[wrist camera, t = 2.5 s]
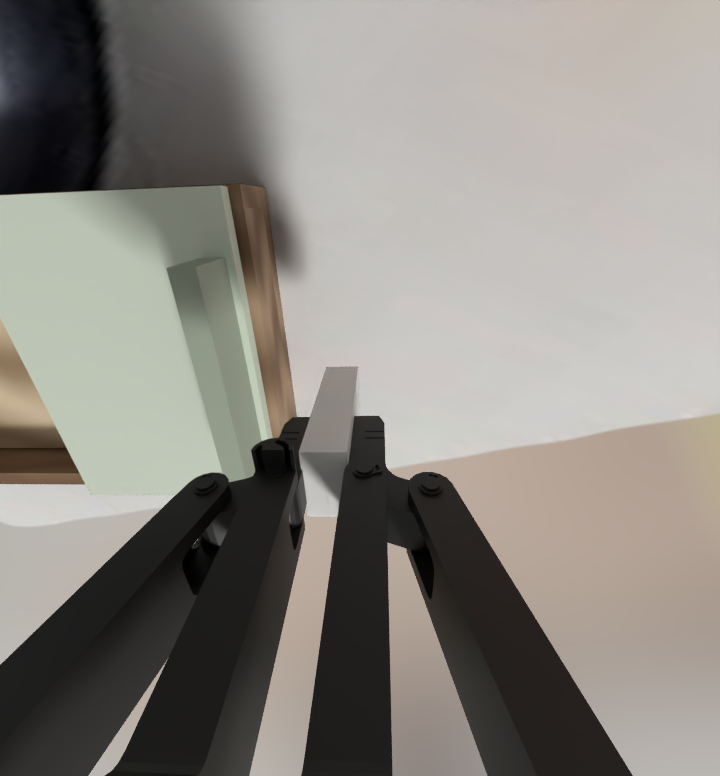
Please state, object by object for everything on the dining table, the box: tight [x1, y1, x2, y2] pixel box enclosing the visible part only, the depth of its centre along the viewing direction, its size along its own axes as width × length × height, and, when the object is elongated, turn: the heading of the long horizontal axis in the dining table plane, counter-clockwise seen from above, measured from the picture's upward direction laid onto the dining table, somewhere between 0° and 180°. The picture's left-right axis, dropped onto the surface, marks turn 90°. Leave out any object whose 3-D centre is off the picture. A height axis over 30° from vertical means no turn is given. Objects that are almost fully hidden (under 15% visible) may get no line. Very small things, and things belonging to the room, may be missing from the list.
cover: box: [0, 185, 273, 495], centre depth 19 cm, size 18×13×4 cm
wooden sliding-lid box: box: [0, 184, 297, 484], centre depth 23 cm, size 18×27×4 cm, turn 92°
